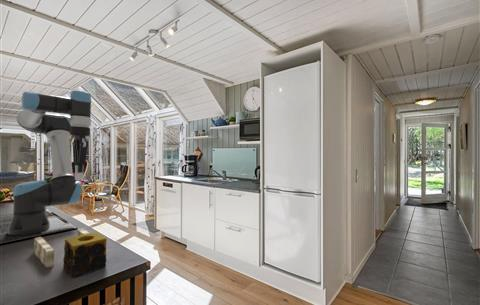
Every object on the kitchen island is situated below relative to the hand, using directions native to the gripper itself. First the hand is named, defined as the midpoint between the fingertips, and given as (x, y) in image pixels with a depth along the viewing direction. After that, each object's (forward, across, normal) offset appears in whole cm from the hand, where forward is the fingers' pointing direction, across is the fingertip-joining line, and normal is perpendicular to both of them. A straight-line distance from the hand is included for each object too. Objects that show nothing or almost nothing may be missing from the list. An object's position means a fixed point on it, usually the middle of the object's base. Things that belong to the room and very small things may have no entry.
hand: (79, 179), depth 106 cm
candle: (+26, +32, -7) cm, 42 cm away
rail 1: (+26, +14, -15) cm, 33 cm away
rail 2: (+26, +14, -1) cm, 30 cm away
